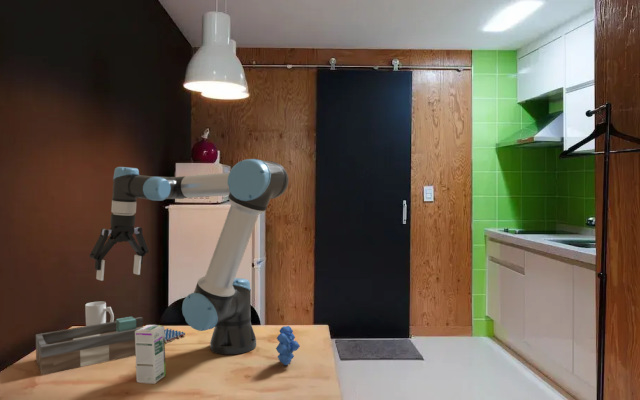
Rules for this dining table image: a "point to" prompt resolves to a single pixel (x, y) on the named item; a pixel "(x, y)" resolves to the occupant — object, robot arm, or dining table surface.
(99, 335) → the track
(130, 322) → the block
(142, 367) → the syrup box
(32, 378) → the dining table surface
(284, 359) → the grapes
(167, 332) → the woven mat
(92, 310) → the mug
